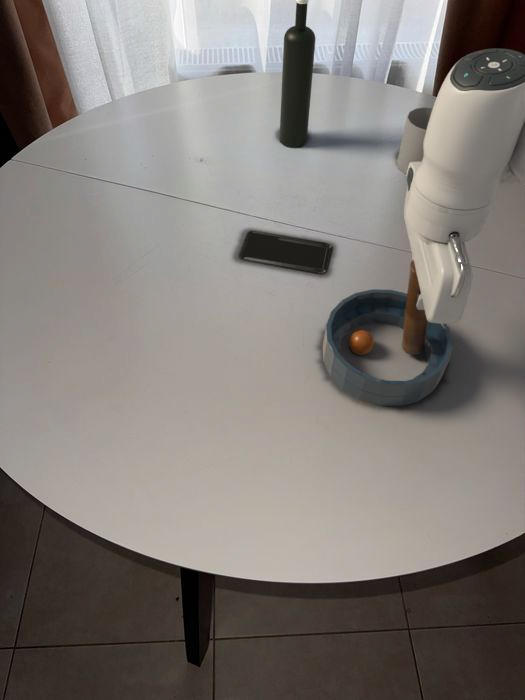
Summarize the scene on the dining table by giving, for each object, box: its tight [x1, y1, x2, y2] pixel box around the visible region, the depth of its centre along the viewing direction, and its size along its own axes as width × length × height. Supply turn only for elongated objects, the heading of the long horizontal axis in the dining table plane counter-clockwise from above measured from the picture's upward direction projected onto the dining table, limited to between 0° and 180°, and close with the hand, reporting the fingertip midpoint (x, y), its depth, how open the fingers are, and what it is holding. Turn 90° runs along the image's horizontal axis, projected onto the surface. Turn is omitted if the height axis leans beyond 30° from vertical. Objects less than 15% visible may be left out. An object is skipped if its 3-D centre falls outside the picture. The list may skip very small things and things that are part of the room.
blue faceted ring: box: [322, 288, 454, 407], centre depth 83 cm, size 17×17×6 cm
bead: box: [348, 329, 375, 356], centre depth 84 cm, size 4×4×4 cm
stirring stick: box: [401, 259, 428, 356], centre depth 78 cm, size 3×3×16 cm
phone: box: [237, 229, 333, 275], centre depth 99 cm, size 8×1×15 cm
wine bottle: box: [279, 0, 316, 149], centre depth 110 cm, size 6×6×30 cm
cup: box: [396, 106, 433, 175], centre depth 113 cm, size 8×8×10 cm
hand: (419, 292), depth 76 cm, fingers closed on stirring stick, 3 cm apart
